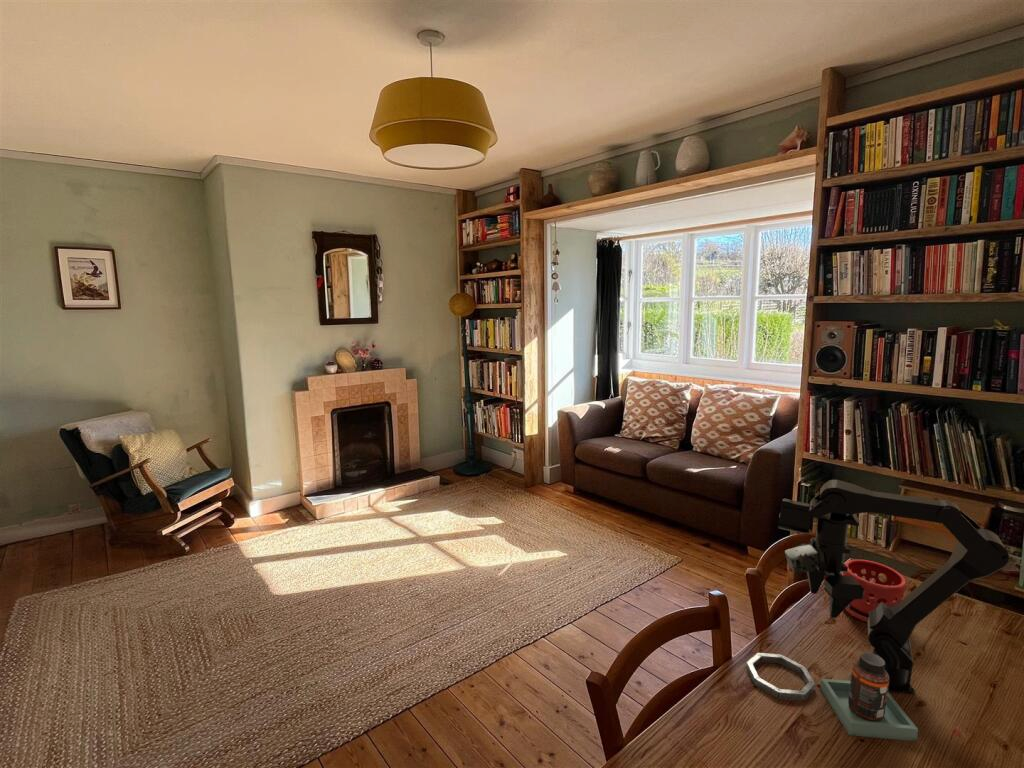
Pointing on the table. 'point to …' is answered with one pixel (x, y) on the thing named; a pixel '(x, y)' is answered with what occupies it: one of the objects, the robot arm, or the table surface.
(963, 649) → the table surface
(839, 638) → the table surface
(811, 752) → the table surface
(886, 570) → the plant pot
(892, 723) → the tray
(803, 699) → the holder ring
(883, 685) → the supplement bottle
